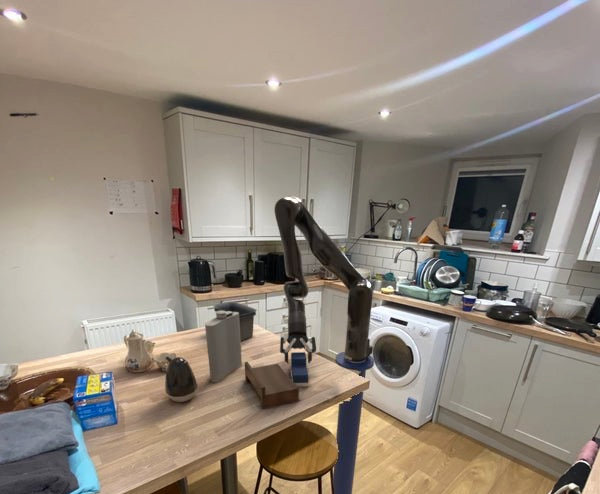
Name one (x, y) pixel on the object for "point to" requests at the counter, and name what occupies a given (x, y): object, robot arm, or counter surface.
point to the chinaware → (143, 354)
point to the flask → (223, 344)
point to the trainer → (299, 369)
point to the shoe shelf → (271, 385)
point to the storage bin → (240, 316)
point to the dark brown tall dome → (180, 380)
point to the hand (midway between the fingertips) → (298, 362)
